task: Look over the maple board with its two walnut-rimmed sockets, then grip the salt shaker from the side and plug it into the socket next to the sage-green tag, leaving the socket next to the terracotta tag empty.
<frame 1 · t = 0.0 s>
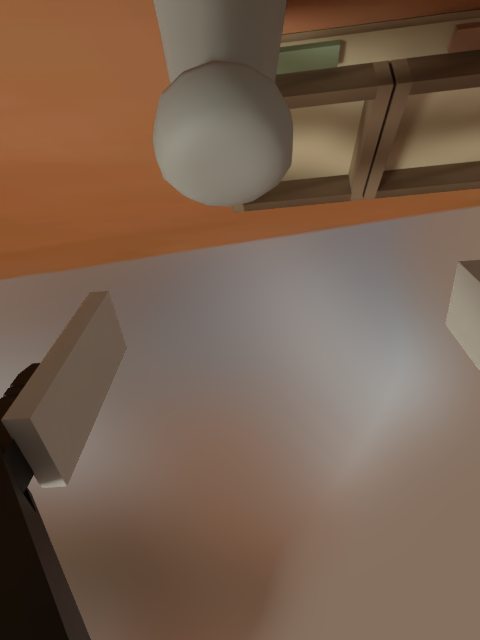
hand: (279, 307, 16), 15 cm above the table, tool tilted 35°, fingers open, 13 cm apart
socket board: (372, 113, 26), on the table
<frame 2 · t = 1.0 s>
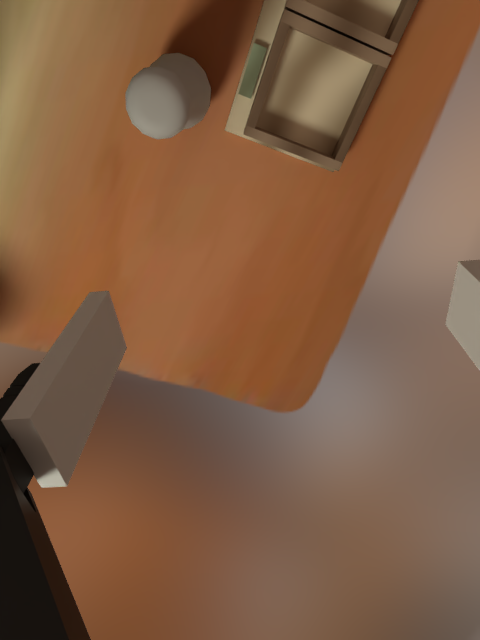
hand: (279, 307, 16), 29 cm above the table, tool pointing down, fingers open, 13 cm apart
salt shaker: (181, 90, 37), on the table
socket board: (326, 30, 34), on the table
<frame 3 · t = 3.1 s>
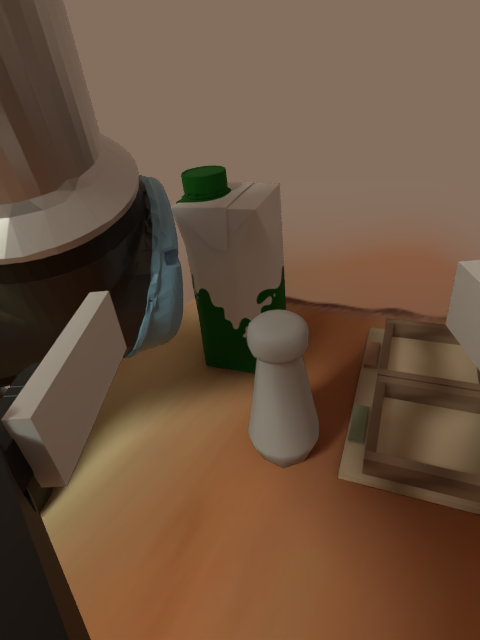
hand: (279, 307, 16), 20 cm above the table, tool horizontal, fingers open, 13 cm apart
milk carton: (246, 352, 46), on the table
salt shaker: (284, 448, 34), on the table
socket board: (420, 401, 37), on the table
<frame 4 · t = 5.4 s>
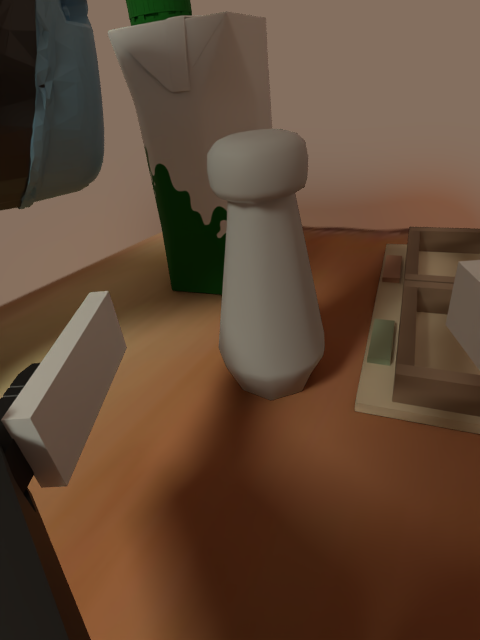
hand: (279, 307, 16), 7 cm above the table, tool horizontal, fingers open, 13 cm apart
milk carton: (226, 277, 35), on the table
salt shaker: (274, 377, 24), on the table
socket board: (466, 317, 26), on the table
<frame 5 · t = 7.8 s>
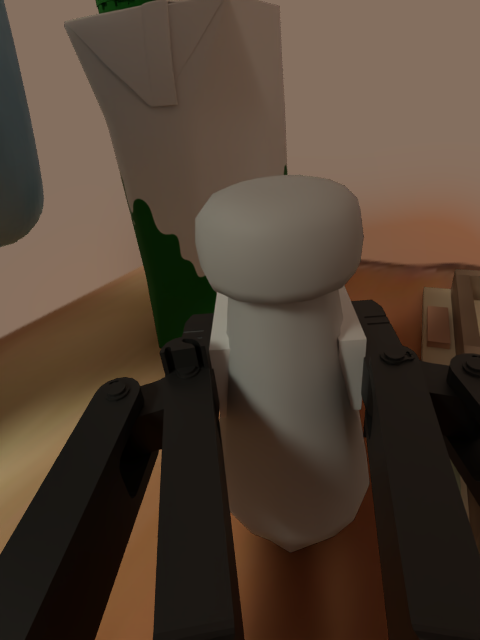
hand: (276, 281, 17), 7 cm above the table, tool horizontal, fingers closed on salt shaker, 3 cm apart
milk carton: (227, 328, 29), on the table
salt shaker: (293, 503, 17), on the table, touching gripper
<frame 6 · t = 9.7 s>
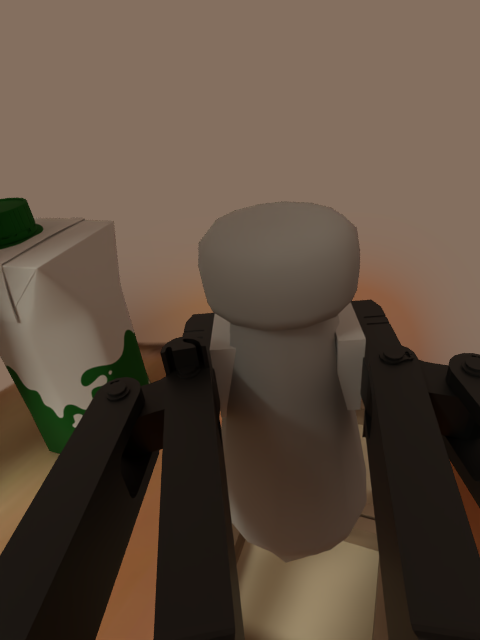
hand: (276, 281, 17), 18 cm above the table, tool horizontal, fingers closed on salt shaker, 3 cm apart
milk carton: (108, 430, 36), on the table
salt shaker: (292, 514, 17), point 10 cm above the table, touching gripper
socket board: (304, 521, 27), on the table
when the fingers open (9 cm above the table, at t = 12.0 s): salt shaker stays where it is, resting on socket board.
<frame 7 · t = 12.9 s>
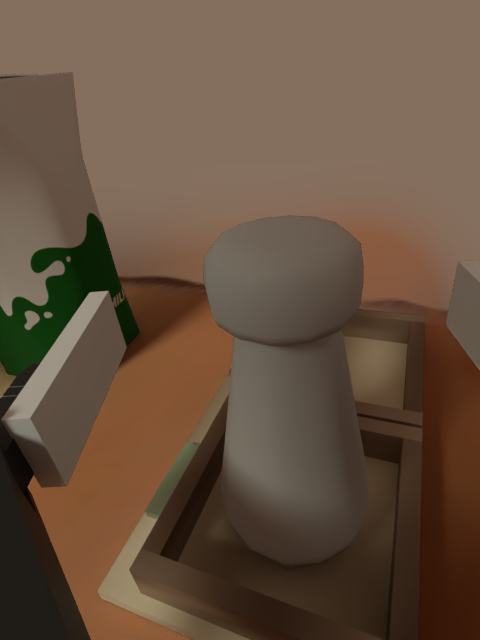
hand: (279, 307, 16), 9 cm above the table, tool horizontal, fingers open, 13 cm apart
milk carton: (78, 354, 31), on the table
salt shaker: (295, 521, 17), resting on socket board
socket board: (303, 436, 22), on the table
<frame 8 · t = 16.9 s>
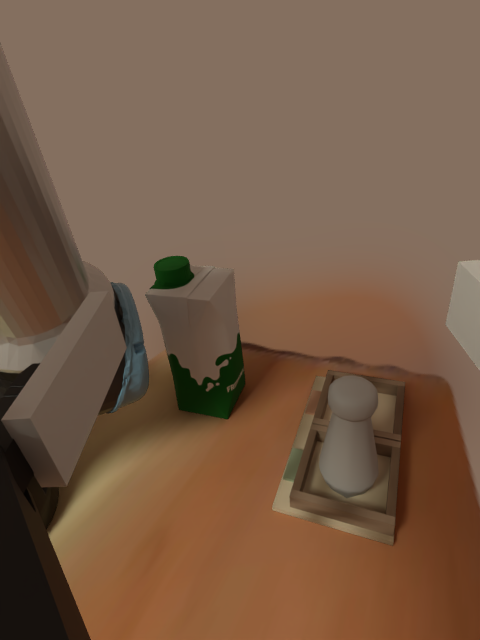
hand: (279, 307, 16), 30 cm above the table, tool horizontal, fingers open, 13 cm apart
milk carton: (213, 397, 55), on the table
salt shaker: (347, 481, 42), resting on socket board
socket board: (346, 444, 46), on the table
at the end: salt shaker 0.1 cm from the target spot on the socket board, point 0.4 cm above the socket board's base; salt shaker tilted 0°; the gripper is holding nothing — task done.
